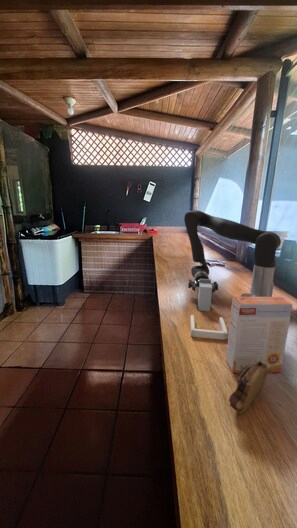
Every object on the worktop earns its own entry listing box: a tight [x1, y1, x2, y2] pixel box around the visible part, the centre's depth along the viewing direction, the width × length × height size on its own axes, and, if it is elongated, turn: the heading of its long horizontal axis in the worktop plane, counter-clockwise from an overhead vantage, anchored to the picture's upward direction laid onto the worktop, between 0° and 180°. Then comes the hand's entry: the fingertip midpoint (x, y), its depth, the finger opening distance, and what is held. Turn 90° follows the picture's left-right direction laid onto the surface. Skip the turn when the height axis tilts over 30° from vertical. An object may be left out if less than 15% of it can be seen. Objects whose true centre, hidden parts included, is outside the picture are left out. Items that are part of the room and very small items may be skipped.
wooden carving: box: [228, 362, 269, 415], centre depth 55 cm, size 16×5×10 cm, turn 139°
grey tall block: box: [196, 278, 212, 312], centre depth 106 cm, size 6×7×12 cm
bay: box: [189, 314, 229, 341], centre depth 88 cm, size 12×12×2 cm
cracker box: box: [225, 296, 293, 374], centre depth 66 cm, size 14×6×21 cm, turn 92°
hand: (203, 289), depth 111 cm, fingers open, 8 cm apart
